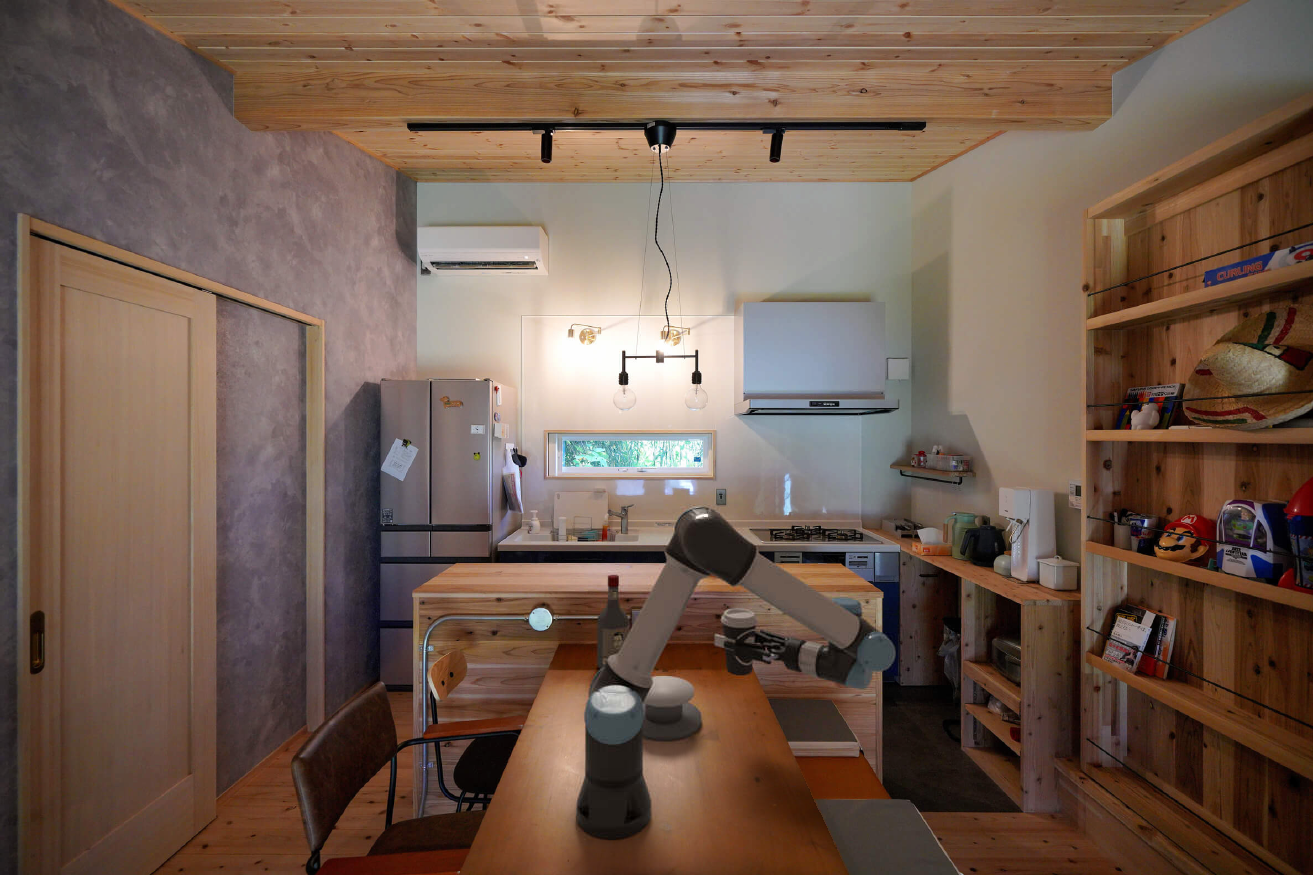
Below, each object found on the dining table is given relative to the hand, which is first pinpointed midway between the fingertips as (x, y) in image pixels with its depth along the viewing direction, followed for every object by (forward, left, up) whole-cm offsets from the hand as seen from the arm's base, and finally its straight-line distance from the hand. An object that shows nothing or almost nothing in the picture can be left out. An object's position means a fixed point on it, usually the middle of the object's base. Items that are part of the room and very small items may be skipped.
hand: (723, 635), depth 151 cm
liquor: (+29, +37, -23) cm, 52 cm away
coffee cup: (-2, -4, -8) cm, 10 cm away
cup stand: (-2, +16, -23) cm, 28 cm away
